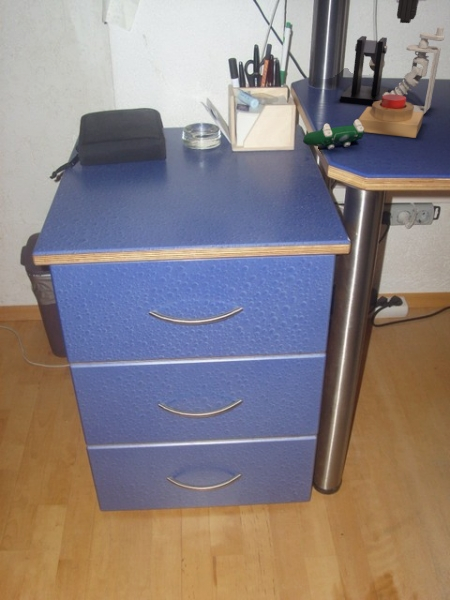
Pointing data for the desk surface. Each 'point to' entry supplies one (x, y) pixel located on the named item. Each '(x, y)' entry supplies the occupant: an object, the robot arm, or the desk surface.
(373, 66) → the lever
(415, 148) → the desk surface
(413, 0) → the robot arm
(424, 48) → the clamp
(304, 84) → the desk surface
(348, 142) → the green toy race car
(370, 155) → the desk surface
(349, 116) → the desk surface
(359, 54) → the bracket
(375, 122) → the button block
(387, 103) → the button
